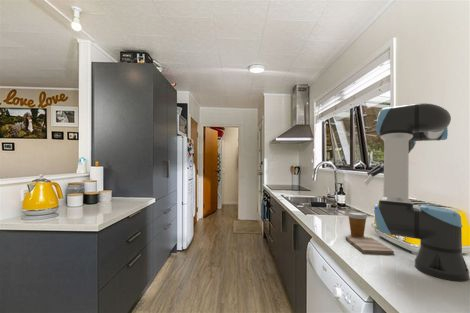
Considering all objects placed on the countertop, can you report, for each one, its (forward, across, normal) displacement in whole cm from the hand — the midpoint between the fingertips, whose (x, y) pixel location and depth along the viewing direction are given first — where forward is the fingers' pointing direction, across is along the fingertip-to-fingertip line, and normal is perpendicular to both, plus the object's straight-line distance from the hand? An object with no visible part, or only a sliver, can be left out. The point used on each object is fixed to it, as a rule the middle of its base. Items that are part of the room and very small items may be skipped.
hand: (375, 185), depth 132 cm
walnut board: (+33, -13, -6) cm, 36 cm away
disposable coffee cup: (+27, +3, -13) cm, 30 cm away
